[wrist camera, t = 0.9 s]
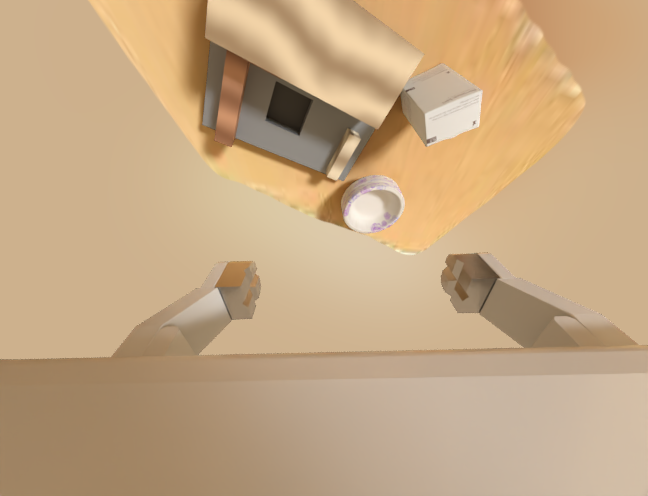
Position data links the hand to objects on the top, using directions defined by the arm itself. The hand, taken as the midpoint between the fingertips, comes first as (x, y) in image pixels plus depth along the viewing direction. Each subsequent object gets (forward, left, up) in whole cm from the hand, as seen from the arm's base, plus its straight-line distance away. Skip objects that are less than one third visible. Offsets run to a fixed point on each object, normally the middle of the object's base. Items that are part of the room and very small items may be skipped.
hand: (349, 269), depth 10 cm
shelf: (-3, 0, -42) cm, 42 cm away
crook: (+9, -8, -42) cm, 44 cm away
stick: (+11, +12, -42) cm, 46 cm away
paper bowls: (+19, +25, -45) cm, 55 cm away
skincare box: (-5, +21, -45) cm, 50 cm away
